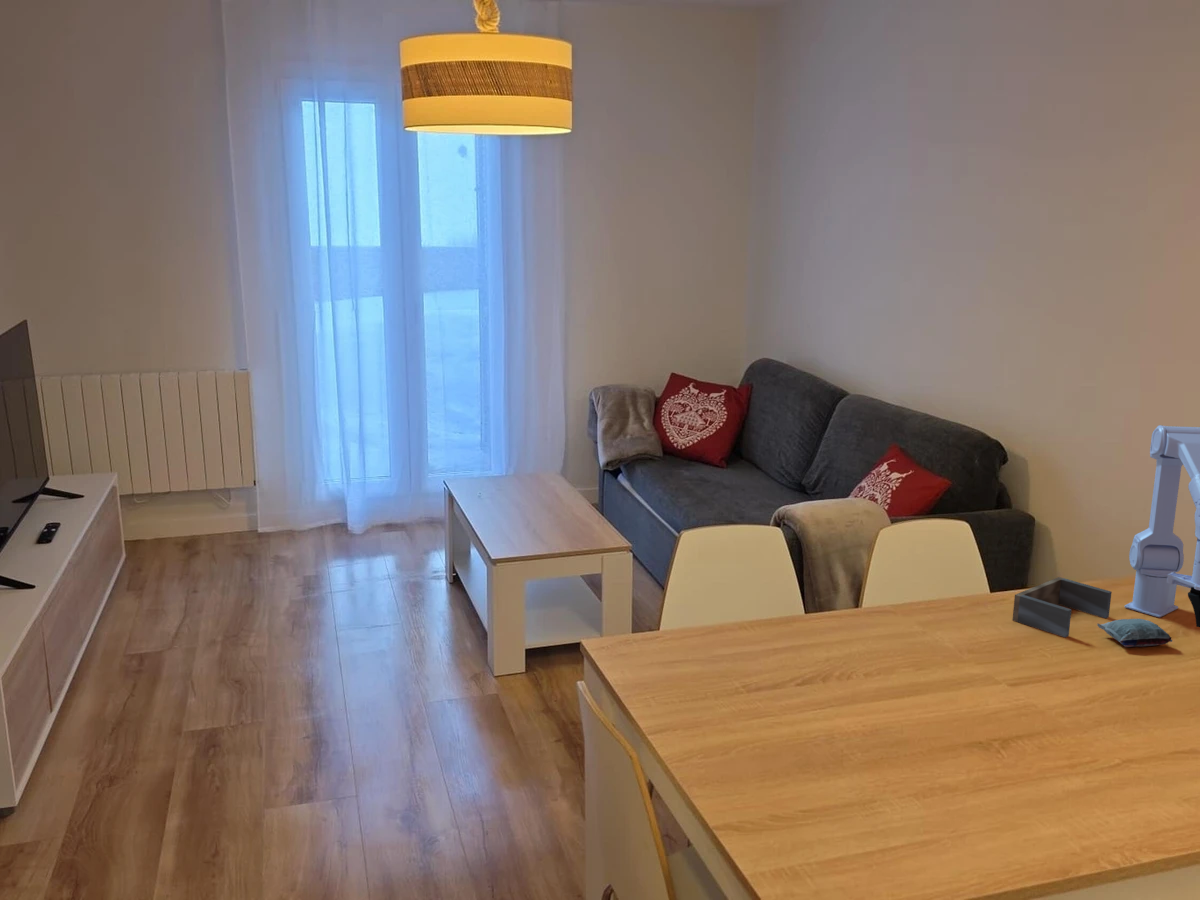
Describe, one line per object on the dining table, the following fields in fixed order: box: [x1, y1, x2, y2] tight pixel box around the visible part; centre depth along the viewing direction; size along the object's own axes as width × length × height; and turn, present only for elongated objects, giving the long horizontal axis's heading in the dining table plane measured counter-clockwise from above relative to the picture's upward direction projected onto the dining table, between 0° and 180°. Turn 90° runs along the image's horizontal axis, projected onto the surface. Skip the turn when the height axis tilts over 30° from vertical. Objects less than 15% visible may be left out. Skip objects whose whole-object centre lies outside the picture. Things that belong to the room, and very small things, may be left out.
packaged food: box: [1097, 618, 1173, 648], centre depth 219 cm, size 9×12×5 cm
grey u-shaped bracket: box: [1011, 576, 1113, 638], centre depth 231 cm, size 19×12×6 cm, turn 128°
